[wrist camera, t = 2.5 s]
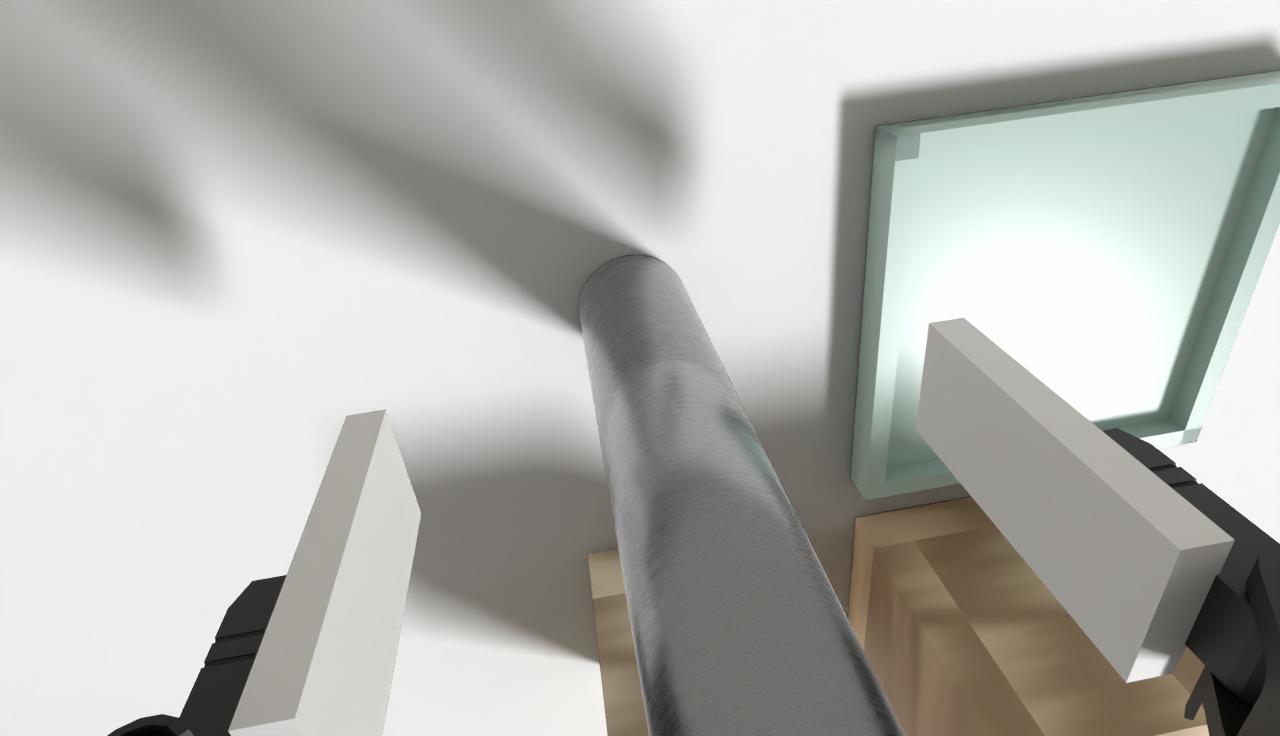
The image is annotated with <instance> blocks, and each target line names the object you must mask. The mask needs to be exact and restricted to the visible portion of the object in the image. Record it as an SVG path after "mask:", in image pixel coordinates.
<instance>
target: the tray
mask: <svg viewBox="0 0 1280 736" xmlns="http://www.w3.org/2000/svg"><path fill="white" fill-rule="evenodd" d="M1279 224H1280V71H1273V72H1266V73H1259V74H1251V75H1244V76H1237V77H1230V78H1222V79H1215V80H1208V81H1201V82H1193V83H1186V84H1179V85H1171V86H1164V87H1157V88H1150V89H1142V90H1135V91H1128V92H1121V93H1113V94H1106V95H1099V96H1091V97H1084V98H1077V99H1070V100H1062V101H1055V102H1048V103H1041V104H1033V105H1026V106H1019V107H1011V108H1004V109H997V110H990V111H982V112H975V113H968V114H961V115H953V116H946V117H939V118H931V119H924V120H917V121H910V122H902V123H895V124H888V125H880V126H876V130H875V144H874V158H873V172H872V186H871V200H870V214H869V228H868V242H867V256H866V270H865V284H864V298H863V312H862V326H861V340H860V354H859V368H858V382H857V396H856V410H855V424H854V438H853V452H852V466H851V479H852V480H853V482H854V484H855V485H856V487H857V488H858V490H859V492H860V493H861V495H862V496H863V498H864V499H865V501H867V500H873V499H879V498H884V497H890V496H895V495H901V494H907V493H912V492H918V491H923V490H929V489H935V488H940V487H946V486H951V485H957V484H961V483H960V482H959V481H958V480H957V479H956V477H955V476H954V475H953V474H952V473H951V471H950V470H949V469H948V468H947V467H946V465H945V464H944V463H943V462H942V461H941V459H940V458H939V457H938V456H937V454H936V453H935V452H934V451H933V450H932V448H931V447H930V446H929V445H928V444H927V442H926V441H925V440H924V439H923V438H922V436H921V435H920V434H919V433H918V432H917V430H916V421H917V413H918V405H919V397H920V390H921V382H922V374H923V366H924V358H925V350H926V342H927V334H928V326H929V323H932V322H938V321H944V320H951V319H957V318H963V317H964V318H965V319H966V320H967V321H969V322H970V323H971V324H972V325H973V326H975V327H976V328H977V329H978V330H980V331H981V332H982V333H983V334H984V335H986V336H987V337H988V338H989V339H991V340H992V341H993V342H994V343H995V344H997V345H998V346H999V347H1000V348H1002V349H1003V350H1004V351H1005V352H1006V353H1008V354H1009V355H1010V356H1011V357H1013V358H1014V359H1015V360H1016V361H1017V362H1019V363H1020V364H1021V365H1022V366H1023V367H1025V368H1026V369H1027V370H1028V371H1030V372H1031V373H1032V374H1033V375H1034V376H1036V377H1037V378H1038V379H1039V380H1041V381H1042V382H1043V383H1044V384H1045V385H1047V386H1048V387H1049V388H1050V389H1052V390H1053V391H1054V392H1055V393H1056V394H1058V395H1059V396H1060V397H1061V398H1062V399H1064V400H1065V401H1066V402H1067V403H1069V404H1070V405H1071V406H1072V407H1073V408H1075V409H1076V410H1077V411H1078V412H1080V413H1081V414H1082V415H1083V416H1084V417H1086V418H1087V419H1088V420H1089V421H1091V422H1092V423H1093V424H1094V425H1095V426H1097V427H1098V428H1099V429H1100V430H1101V431H1103V430H1109V429H1114V428H1118V429H1120V430H1122V431H1125V432H1127V433H1129V434H1131V435H1133V436H1135V437H1138V438H1140V439H1142V440H1144V441H1146V442H1148V443H1150V444H1152V445H1153V446H1154V447H1155V448H1157V449H1159V448H1164V447H1170V446H1175V445H1181V444H1187V443H1192V442H1196V441H1197V438H1198V436H1199V433H1200V430H1201V428H1202V425H1203V422H1204V420H1205V417H1206V415H1207V412H1208V409H1209V407H1210V404H1211V402H1212V399H1213V396H1214V394H1215V391H1216V388H1217V386H1218V383H1219V381H1220V378H1221V375H1222V373H1223V370H1224V367H1225V365H1226V362H1227V360H1228V357H1229V354H1230V352H1231V349H1232V347H1233V344H1234V341H1235V339H1236V336H1237V333H1238V331H1239V328H1240V326H1241V323H1242V320H1243V318H1244V315H1245V313H1246V310H1247V307H1248V305H1249V302H1250V299H1251V297H1252V294H1253V292H1254V289H1255V286H1256V284H1257V281H1258V279H1259V276H1260V273H1261V271H1262V268H1263V265H1264V263H1265V260H1266V258H1267V255H1268V252H1269V250H1270V247H1271V244H1272V242H1273V239H1274V237H1275V234H1276V231H1277V229H1278V226H1279Z"/></svg>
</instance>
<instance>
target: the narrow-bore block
mask: <svg viewBox="0 0 1280 736" xmlns="http://www.w3.org/2000/svg"><path fill="white" fill-rule="evenodd" d="M588 563H589V572H590V581H591V590H592V599H593V608H594V617H595V626H596V635H597V644H598V653H599V662H600V671H601V679H602V688H603V697H604V706H605V715H606V724H607V733H608V736H649V732H648V726H647V720H646V714H645V708H644V702H643V696H642V690H641V684H640V678H639V672H638V666H637V660H636V654H635V648H634V641H633V635H632V629H631V623H630V617H629V611H628V605H627V599H626V593H625V587H624V581H623V575H622V569H621V563H620V557H619V551H618V549H614V550H608V551H603V552H597V553H592V554H588Z"/></svg>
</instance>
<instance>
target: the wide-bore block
mask: <svg viewBox="0 0 1280 736" xmlns="http://www.w3.org/2000/svg"><path fill="white" fill-rule="evenodd" d="M848 620H849V622H850V624H851V626H852V628H853V630H854V632H855V634H856V636H857V638H858V640H859V642H860V644H861V646H862V648H863V650H864V652H865V654H866V656H867V658H868V660H869V662H870V664H871V666H872V668H873V670H874V673H875V675H876V677H877V679H878V681H879V683H880V685H881V687H882V689H883V691H884V693H885V695H886V697H887V699H888V701H889V703H890V705H891V707H892V709H893V711H894V713H895V715H896V717H897V719H898V721H899V723H900V725H901V727H902V729H903V731H904V733H905V735H906V736H1209V731H1208V726H1207V724H1206V722H1207V721H1206V716H1205V711H1204V706H1203V704H1202V705H1201V706H1200V708H1199V710H1198V712H1197V714H1196V716H1195V718H1194V720H1189V719H1186V718H1184V714H1185V705H1186V703H1187V701H1188V699H1189V697H1190V695H1191V693H1192V691H1193V689H1194V687H1195V685H1196V683H1197V681H1198V679H1199V677H1200V675H1201V673H1202V671H1203V669H1204V667H1205V665H1204V664H1203V663H1202V662H1201V661H1200V660H1199V659H1198V658H1197V656H1196V655H1195V654H1194V653H1193V652H1192V651H1191V650H1190V649H1189V648H1188V647H1187V646H1186V648H1185V650H1184V652H1183V654H1182V657H1181V659H1180V661H1179V663H1178V665H1177V667H1176V670H1175V672H1174V673H1173V674H1168V675H1163V676H1158V677H1153V678H1148V679H1143V680H1138V681H1133V682H1128V683H1126V682H1125V681H1124V679H1123V678H1122V677H1121V676H1120V675H1119V673H1118V672H1117V671H1116V670H1115V669H1114V667H1113V666H1112V665H1111V664H1110V663H1109V661H1108V660H1107V659H1106V658H1105V657H1104V655H1103V654H1102V653H1101V652H1100V651H1099V649H1098V648H1097V647H1096V646H1095V645H1094V643H1093V642H1092V641H1091V640H1090V639H1089V637H1088V636H1087V635H1086V634H1085V633H1084V631H1083V630H1082V629H1081V628H1080V627H1079V625H1078V624H1077V623H1076V622H1075V621H1074V619H1073V618H1072V617H1071V616H1070V615H1069V613H1068V612H1067V611H1066V610H1065V608H1064V607H1063V606H1062V605H1061V604H1060V602H1059V601H1058V600H1057V599H1056V598H1055V596H1054V595H1053V594H1052V593H1051V592H1050V590H1049V589H1048V588H1047V587H1046V586H1045V584H1044V583H1043V582H1042V581H1041V580H1040V578H1039V577H1038V576H1037V575H1036V574H1035V572H1034V571H1033V570H1032V569H1031V568H1030V566H1029V565H1028V564H1027V563H1026V562H1025V560H1024V559H1023V558H1022V557H1021V556H1020V554H1019V553H1018V552H1017V551H1016V550H1015V548H1014V547H1013V546H1012V545H1011V544H1010V542H1009V541H1008V540H1007V539H1006V538H1005V536H1004V535H1003V534H1002V533H1001V531H1000V530H999V529H998V528H997V527H996V525H995V524H994V523H993V522H992V521H991V519H990V518H989V517H988V516H987V515H986V513H985V512H984V511H983V510H982V509H981V507H980V506H979V505H978V504H977V503H976V501H975V500H974V499H973V498H972V497H968V498H962V499H957V500H951V501H946V502H940V503H935V504H929V505H924V506H918V507H913V508H907V509H901V510H896V511H890V512H885V513H879V514H874V515H868V516H863V517H857V518H856V522H855V535H854V548H853V560H852V573H851V585H850V598H849V611H848Z"/></svg>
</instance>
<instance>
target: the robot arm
mask: <svg viewBox="0 0 1280 736" xmlns="http://www.w3.org/2000/svg"><path fill="white" fill-rule="evenodd" d="M916 430H917V432H918V433H919V434H920V435H921V436H922V438H923V439H924V440H925V441H926V442H927V444H928V445H929V446H930V447H931V448H932V450H933V451H934V452H935V453H936V454H937V456H938V457H939V458H940V459H941V461H942V462H943V463H944V464H945V465H946V467H947V468H948V469H949V470H950V471H951V473H952V474H953V475H954V476H955V477H956V479H957V480H958V481H959V482H960V483H961V485H962V486H963V487H964V488H965V489H966V491H967V492H968V493H969V494H970V495H971V497H972V498H973V499H974V500H975V501H976V503H977V504H978V505H979V506H980V507H981V509H982V510H983V511H984V512H985V513H986V515H987V516H988V517H989V518H990V519H991V521H992V522H993V523H994V524H995V525H996V527H997V528H998V529H999V530H1000V531H1001V533H1002V534H1003V535H1004V536H1005V538H1006V539H1007V540H1008V541H1009V542H1010V544H1011V545H1012V546H1013V547H1014V548H1015V550H1016V551H1017V552H1018V553H1019V554H1020V556H1021V557H1022V558H1023V559H1024V560H1025V562H1026V563H1027V564H1028V565H1029V566H1030V568H1031V569H1032V570H1033V571H1034V572H1035V574H1036V575H1037V576H1038V577H1039V578H1040V580H1041V581H1042V582H1043V583H1044V584H1045V586H1046V587H1047V588H1048V589H1049V590H1050V592H1051V593H1052V594H1053V595H1054V596H1055V598H1056V599H1057V600H1058V601H1059V602H1060V604H1061V605H1062V606H1063V607H1064V608H1065V610H1066V611H1067V612H1068V613H1069V615H1070V616H1071V617H1072V618H1073V619H1074V621H1075V622H1076V623H1077V624H1078V625H1079V627H1080V628H1081V629H1082V630H1083V631H1084V633H1085V634H1086V635H1087V636H1088V637H1089V639H1090V640H1091V641H1092V642H1093V643H1094V645H1095V646H1096V647H1097V648H1098V649H1099V651H1100V652H1101V653H1102V654H1103V655H1104V657H1105V658H1106V659H1107V660H1108V661H1109V663H1110V664H1111V665H1112V666H1113V667H1114V669H1115V670H1116V671H1117V672H1118V673H1119V675H1120V676H1121V677H1122V678H1123V679H1124V681H1125V682H1126V683H1128V682H1133V681H1138V680H1143V679H1148V678H1153V677H1158V676H1163V675H1168V674H1173V673H1174V672H1175V670H1176V667H1177V665H1178V663H1179V661H1180V659H1181V657H1182V654H1183V652H1184V650H1185V648H1186V646H1187V647H1188V648H1189V649H1190V650H1191V651H1192V652H1193V653H1194V654H1195V655H1196V656H1197V658H1198V659H1199V660H1200V661H1201V662H1202V663H1203V664H1204V665H1205V667H1204V669H1203V671H1202V673H1201V675H1200V677H1199V679H1198V681H1197V683H1196V685H1195V687H1194V689H1193V691H1192V693H1191V695H1190V697H1189V699H1188V701H1187V703H1186V705H1185V714H1184V718H1186V719H1189V720H1194V718H1195V716H1196V714H1197V712H1198V710H1199V708H1200V706H1201V705H1202V704H1203V706H1204V711H1205V716H1206V721H1207V722H1206V724H1207V726H1208V731H1209V736H1280V544H1279V543H1278V542H1276V541H1275V540H1274V539H1273V538H1271V537H1270V536H1269V535H1267V534H1266V533H1265V532H1263V531H1262V530H1261V529H1260V528H1258V527H1257V526H1256V525H1254V524H1253V523H1252V522H1251V521H1249V520H1248V519H1247V518H1245V517H1244V516H1243V515H1242V514H1240V513H1239V512H1238V511H1236V510H1235V509H1234V508H1233V507H1231V506H1230V505H1229V504H1227V503H1226V502H1225V501H1224V500H1222V499H1221V498H1220V497H1218V496H1217V495H1216V494H1215V493H1213V492H1212V491H1211V490H1209V489H1208V488H1207V487H1206V486H1204V485H1203V484H1202V483H1201V484H1198V483H1197V482H1196V479H1195V478H1194V477H1193V476H1191V475H1190V474H1189V473H1188V472H1186V471H1185V470H1184V469H1182V468H1181V467H1178V468H1177V467H1176V465H1175V462H1173V461H1172V460H1171V459H1170V458H1168V457H1167V456H1166V455H1164V454H1163V453H1162V452H1161V451H1159V450H1158V449H1157V448H1155V447H1154V446H1153V445H1152V444H1150V443H1148V442H1146V441H1144V440H1142V439H1140V438H1138V437H1135V436H1133V435H1131V434H1129V433H1127V432H1125V431H1122V430H1120V429H1118V428H1114V429H1109V430H1103V431H1101V430H1100V429H1099V428H1098V427H1097V426H1095V425H1094V424H1093V423H1092V422H1091V421H1089V420H1088V419H1087V418H1086V417H1084V416H1083V415H1082V414H1081V413H1080V412H1078V411H1077V410H1076V409H1075V408H1073V407H1072V406H1071V405H1070V404H1069V403H1067V402H1066V401H1065V400H1064V399H1062V398H1061V397H1060V396H1059V395H1058V394H1056V393H1055V392H1054V391H1053V390H1052V389H1050V388H1049V387H1048V386H1047V385H1045V384H1044V383H1043V382H1042V381H1041V380H1039V379H1038V378H1037V377H1036V376H1034V375H1033V374H1032V373H1031V372H1030V371H1028V370H1027V369H1026V368H1025V367H1023V366H1022V365H1021V364H1020V363H1019V362H1017V361H1016V360H1015V359H1014V358H1013V357H1011V356H1010V355H1009V354H1008V353H1006V352H1005V351H1004V350H1003V349H1002V348H1000V347H999V346H998V345H997V344H995V343H994V342H993V341H992V340H991V339H989V338H988V337H987V336H986V335H984V334H983V333H982V332H981V331H980V330H978V329H977V328H976V327H975V326H973V325H972V324H971V323H970V322H969V321H967V320H966V319H965V318H964V317H963V318H957V319H951V320H944V321H938V322H932V323H929V326H928V334H927V342H926V350H925V358H924V366H923V374H922V382H921V390H920V397H919V405H918V413H917V421H916ZM420 519H421V511H420V508H419V505H418V502H417V499H416V496H415V493H414V491H413V488H412V485H411V482H410V479H409V476H408V473H407V470H406V467H405V464H404V461H403V458H402V455H401V453H400V450H399V447H398V444H397V441H396V438H395V435H394V432H393V429H392V426H391V423H390V420H389V417H388V415H387V412H386V410H381V411H374V412H368V413H362V414H356V415H349V416H346V419H345V421H344V424H343V427H342V429H341V432H340V435H339V437H338V440H337V443H336V445H335V448H334V451H333V453H332V456H331V459H330V461H329V464H328V467H327V469H326V472H325V475H324V477H323V480H322V483H321V485H320V488H319V491H318V493H317V496H316V499H315V501H314V504H313V506H312V509H311V512H310V514H309V517H308V520H307V522H306V525H305V528H304V530H303V533H302V536H301V538H300V541H299V544H298V546H297V549H296V552H295V554H294V557H293V560H292V562H291V565H290V568H289V570H288V573H287V575H284V576H279V577H273V578H267V579H262V580H256V581H252V582H251V583H250V584H249V586H248V587H247V588H246V589H245V590H244V591H243V592H242V593H241V595H240V596H239V597H238V598H237V599H236V600H235V601H234V603H233V604H232V605H231V606H230V607H229V608H228V610H227V612H226V614H225V617H224V619H223V621H222V623H221V626H220V628H219V630H218V632H217V635H216V637H215V639H216V642H215V643H213V644H212V646H211V648H210V650H209V652H208V655H207V657H206V659H205V661H204V663H205V667H204V668H201V670H200V673H199V675H198V677H197V679H196V682H195V684H194V686H193V688H192V691H191V693H190V695H189V697H188V700H187V702H186V704H185V706H184V708H183V711H182V713H181V715H180V717H179V718H177V717H173V716H168V715H163V714H161V715H155V716H150V717H145V718H140V719H138V720H135V721H133V722H131V723H129V724H127V725H125V726H123V727H120V728H118V729H116V730H115V731H113V732H112V733H110V734H109V735H108V736H382V734H383V728H384V723H385V717H386V711H387V706H388V700H389V694H390V689H391V683H392V677H393V672H394V666H395V660H396V655H397V649H398V643H399V638H400V632H401V626H402V621H403V615H404V609H405V604H406V598H407V592H408V587H409V581H410V575H411V570H412V564H413V559H414V553H415V547H416V542H417V536H418V530H419V525H420Z"/></svg>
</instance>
